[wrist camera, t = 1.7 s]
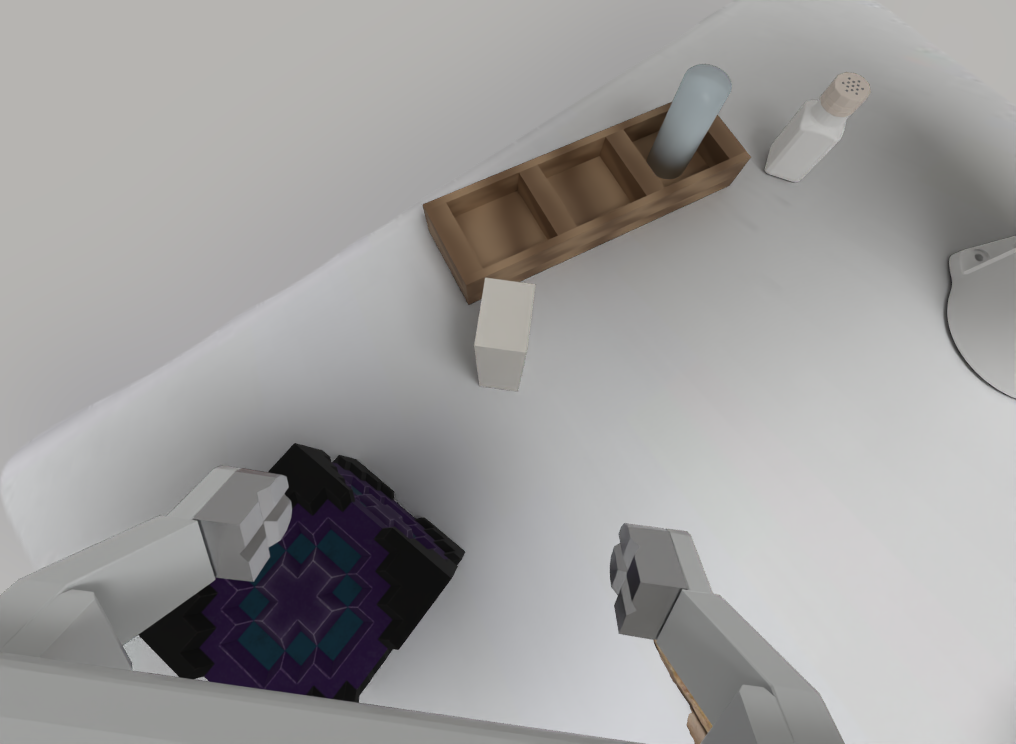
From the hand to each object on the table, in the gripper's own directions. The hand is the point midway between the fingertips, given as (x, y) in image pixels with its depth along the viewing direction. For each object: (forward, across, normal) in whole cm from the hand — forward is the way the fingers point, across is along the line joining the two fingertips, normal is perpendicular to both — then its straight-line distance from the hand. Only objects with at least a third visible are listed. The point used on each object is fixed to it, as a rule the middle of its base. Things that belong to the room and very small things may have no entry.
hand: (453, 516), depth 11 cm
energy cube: (+15, +9, +24) cm, 29 cm away
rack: (+40, -6, -2) cm, 41 cm away
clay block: (+28, 0, +10) cm, 30 cm away
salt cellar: (+43, -14, -8) cm, 46 cm away
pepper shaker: (+46, -27, -8) cm, 54 cm away
